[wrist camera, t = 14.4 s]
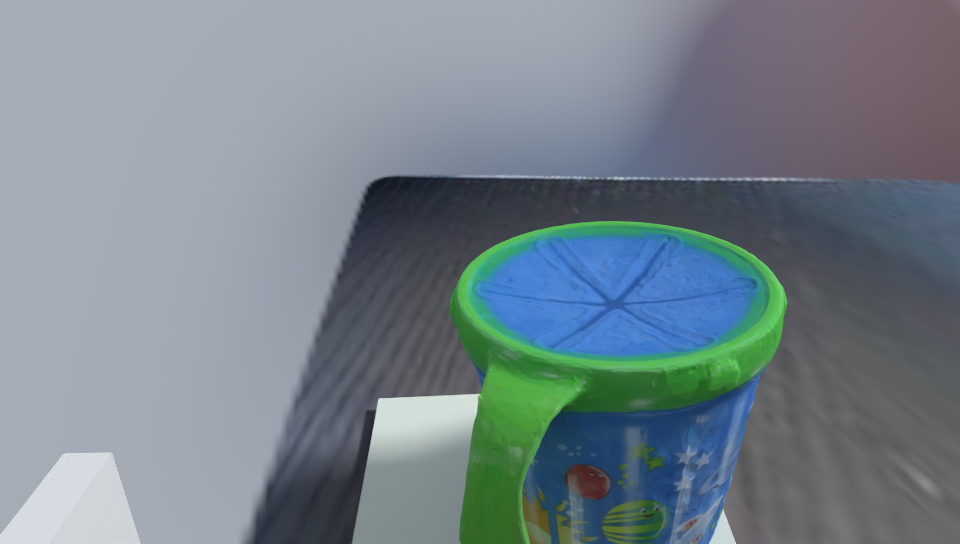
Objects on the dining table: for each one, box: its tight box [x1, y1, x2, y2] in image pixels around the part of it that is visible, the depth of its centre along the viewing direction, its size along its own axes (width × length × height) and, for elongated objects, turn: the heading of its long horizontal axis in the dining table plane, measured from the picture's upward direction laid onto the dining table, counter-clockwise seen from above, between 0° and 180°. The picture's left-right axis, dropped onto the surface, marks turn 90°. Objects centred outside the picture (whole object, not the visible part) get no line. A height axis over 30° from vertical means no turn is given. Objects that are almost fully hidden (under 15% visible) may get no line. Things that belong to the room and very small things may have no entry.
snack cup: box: [449, 221, 787, 544], centre depth 31 cm, size 16×10×10 cm
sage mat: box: [352, 394, 736, 544], centre depth 34 cm, size 16×14×1 cm
